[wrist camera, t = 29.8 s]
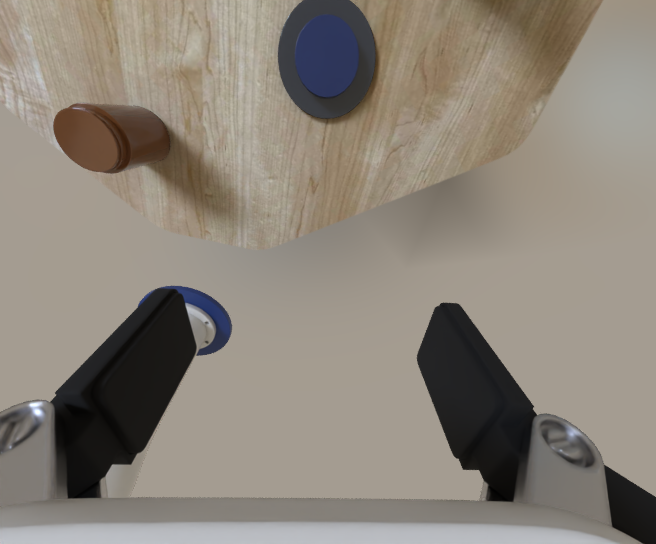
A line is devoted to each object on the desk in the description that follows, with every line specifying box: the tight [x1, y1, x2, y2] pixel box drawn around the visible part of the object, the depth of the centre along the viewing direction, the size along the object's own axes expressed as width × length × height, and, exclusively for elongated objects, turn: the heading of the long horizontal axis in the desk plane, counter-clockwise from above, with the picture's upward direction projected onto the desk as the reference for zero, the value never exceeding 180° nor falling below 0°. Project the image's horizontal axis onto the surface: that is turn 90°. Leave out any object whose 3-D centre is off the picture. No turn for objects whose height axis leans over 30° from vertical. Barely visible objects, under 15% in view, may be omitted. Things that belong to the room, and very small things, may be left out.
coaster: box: [278, 0, 376, 119], centre depth 29 cm, size 11×11×1 cm
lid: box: [295, 14, 359, 99], centre depth 28 cm, size 7×7×2 cm
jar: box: [53, 103, 170, 173], centre depth 29 cm, size 6×6×9 cm
